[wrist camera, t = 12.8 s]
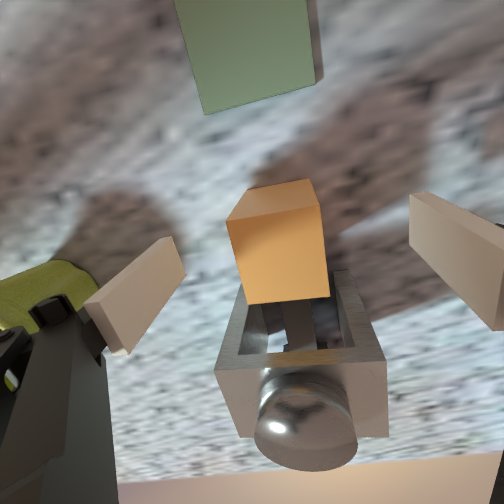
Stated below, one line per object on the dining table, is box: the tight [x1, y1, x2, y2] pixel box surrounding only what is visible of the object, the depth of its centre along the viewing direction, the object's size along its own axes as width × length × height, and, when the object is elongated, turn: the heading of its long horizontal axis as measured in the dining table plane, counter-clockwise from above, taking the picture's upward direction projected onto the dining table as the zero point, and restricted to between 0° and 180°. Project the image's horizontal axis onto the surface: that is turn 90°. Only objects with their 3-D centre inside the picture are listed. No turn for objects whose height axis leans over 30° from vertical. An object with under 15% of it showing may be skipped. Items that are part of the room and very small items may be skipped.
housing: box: [214, 270, 389, 472], centre depth 18 cm, size 9×6×11 cm
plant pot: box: [0, 260, 99, 391], centre depth 21 cm, size 9×9×9 cm
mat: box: [174, 0, 316, 115], centre depth 15 cm, size 7×7×1 cm
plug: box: [226, 178, 330, 352], centre depth 19 cm, size 4×17×7 cm, turn 12°
